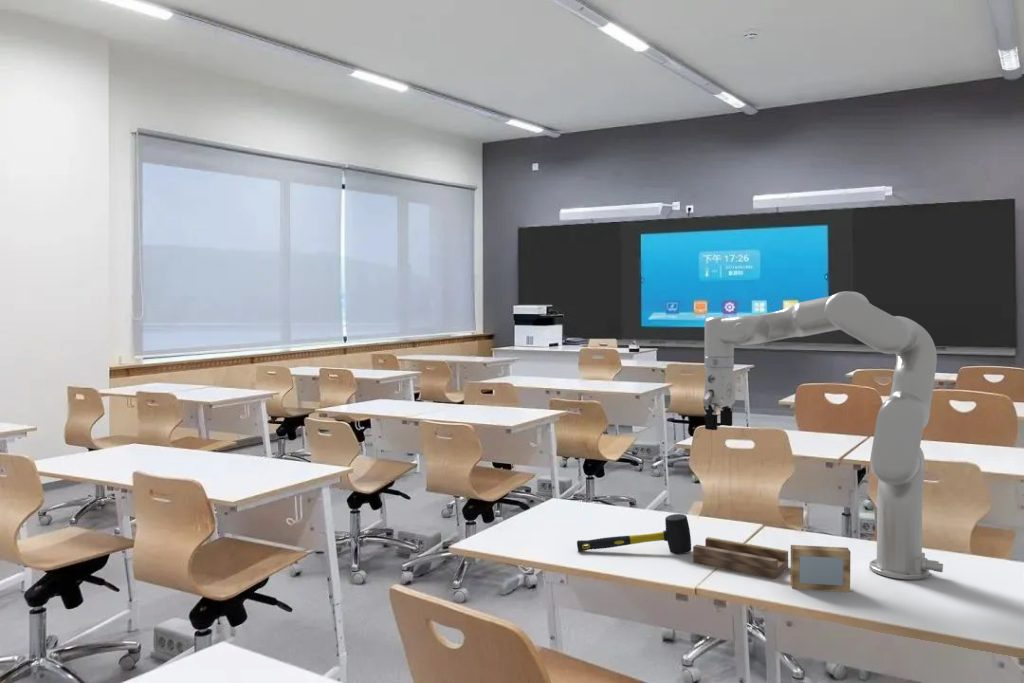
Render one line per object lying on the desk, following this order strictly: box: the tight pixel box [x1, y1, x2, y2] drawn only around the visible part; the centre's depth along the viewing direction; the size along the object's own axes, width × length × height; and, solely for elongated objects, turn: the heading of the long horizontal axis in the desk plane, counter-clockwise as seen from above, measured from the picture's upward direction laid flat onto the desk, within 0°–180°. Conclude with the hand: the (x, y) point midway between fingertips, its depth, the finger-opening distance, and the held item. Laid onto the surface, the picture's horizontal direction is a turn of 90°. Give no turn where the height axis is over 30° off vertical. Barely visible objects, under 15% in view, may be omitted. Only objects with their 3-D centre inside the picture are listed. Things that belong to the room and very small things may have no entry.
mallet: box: [576, 513, 692, 555], centre depth 202 cm, size 29×6×10 cm, turn 88°
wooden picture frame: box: [789, 544, 851, 593], centre depth 174 cm, size 12×3×9 cm, turn 79°
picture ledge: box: [692, 536, 789, 580], centre depth 190 cm, size 20×10×4 cm, turn 54°
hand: (718, 427), depth 210 cm, fingers open, 9 cm apart
